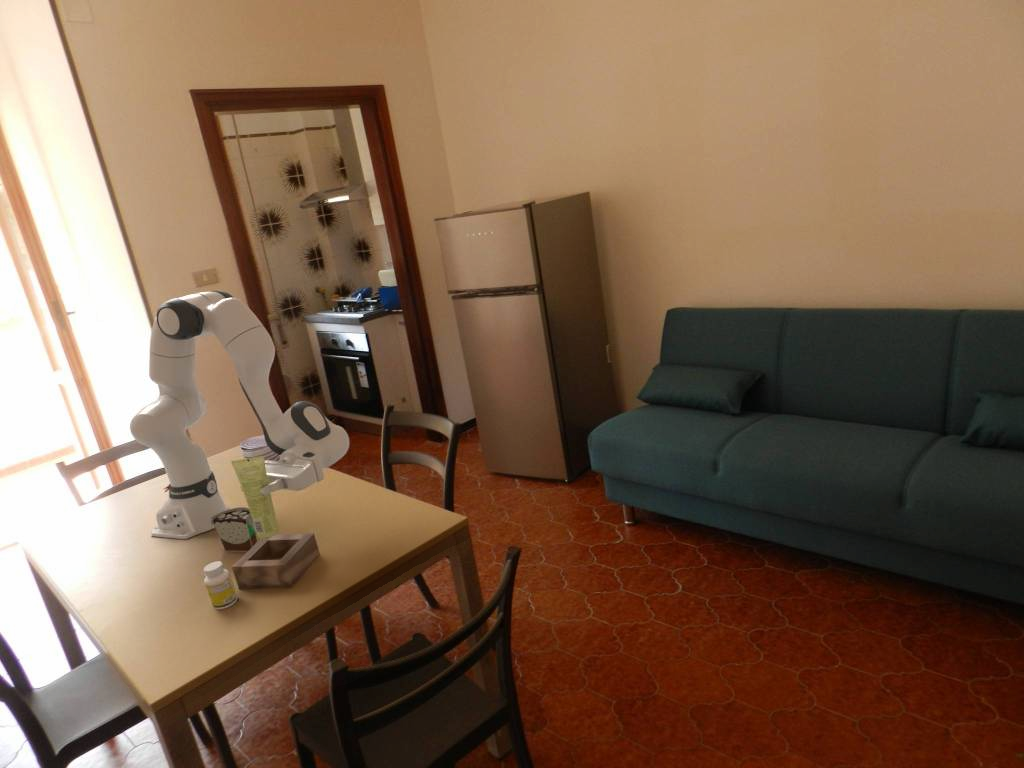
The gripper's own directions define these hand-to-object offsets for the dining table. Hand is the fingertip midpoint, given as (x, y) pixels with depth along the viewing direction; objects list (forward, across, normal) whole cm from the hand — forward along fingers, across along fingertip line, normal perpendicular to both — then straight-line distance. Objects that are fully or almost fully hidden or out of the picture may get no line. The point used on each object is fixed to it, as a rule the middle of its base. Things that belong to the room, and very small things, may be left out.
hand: (252, 490), depth 163 cm
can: (-45, -58, +22) cm, 77 cm away
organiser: (-1, 0, +22) cm, 22 cm away
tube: (-1, 0, +12) cm, 12 cm away
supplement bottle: (+13, -3, +22) cm, 26 cm away
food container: (-8, -21, +22) cm, 32 cm away
